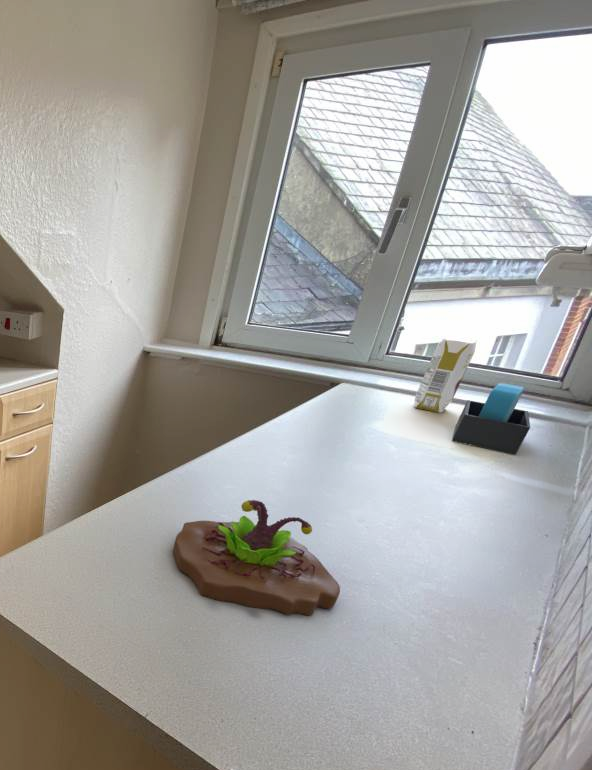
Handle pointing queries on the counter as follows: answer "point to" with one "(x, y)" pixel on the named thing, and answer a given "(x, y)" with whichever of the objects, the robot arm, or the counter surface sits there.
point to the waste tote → (491, 429)
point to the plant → (254, 564)
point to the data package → (501, 402)
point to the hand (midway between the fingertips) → (581, 309)
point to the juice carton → (444, 373)
